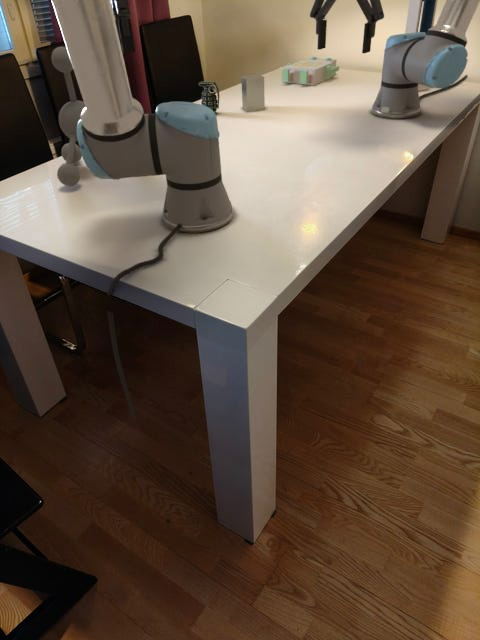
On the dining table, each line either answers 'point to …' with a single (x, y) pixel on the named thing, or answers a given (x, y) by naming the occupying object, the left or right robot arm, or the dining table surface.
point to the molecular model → (68, 121)
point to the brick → (253, 92)
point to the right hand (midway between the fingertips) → (343, 50)
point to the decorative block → (310, 71)
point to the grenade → (210, 95)
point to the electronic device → (426, 20)
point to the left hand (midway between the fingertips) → (126, 47)
